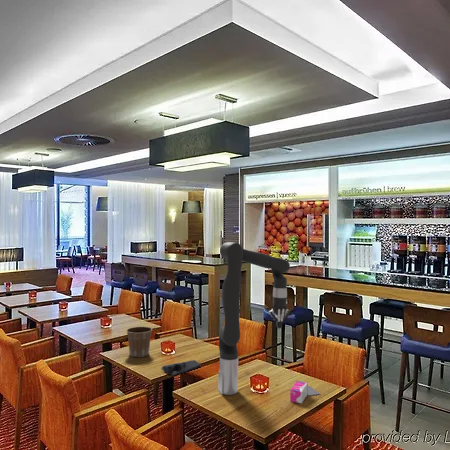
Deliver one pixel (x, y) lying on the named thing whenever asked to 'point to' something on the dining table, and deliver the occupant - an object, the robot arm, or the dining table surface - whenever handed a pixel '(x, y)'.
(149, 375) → the dining table surface
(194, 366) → the dark slate chunk
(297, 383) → the supplement box
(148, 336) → the plant pot
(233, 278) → the robot arm
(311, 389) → the mat
